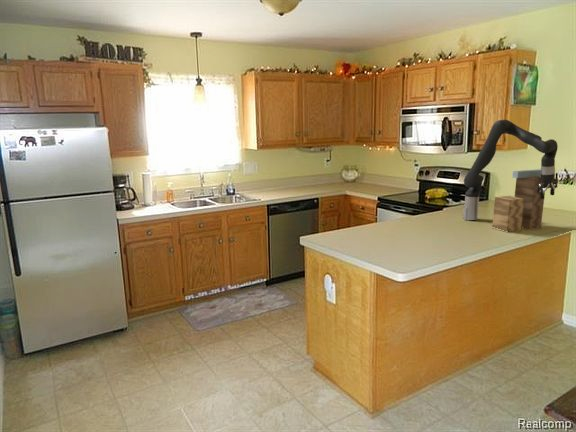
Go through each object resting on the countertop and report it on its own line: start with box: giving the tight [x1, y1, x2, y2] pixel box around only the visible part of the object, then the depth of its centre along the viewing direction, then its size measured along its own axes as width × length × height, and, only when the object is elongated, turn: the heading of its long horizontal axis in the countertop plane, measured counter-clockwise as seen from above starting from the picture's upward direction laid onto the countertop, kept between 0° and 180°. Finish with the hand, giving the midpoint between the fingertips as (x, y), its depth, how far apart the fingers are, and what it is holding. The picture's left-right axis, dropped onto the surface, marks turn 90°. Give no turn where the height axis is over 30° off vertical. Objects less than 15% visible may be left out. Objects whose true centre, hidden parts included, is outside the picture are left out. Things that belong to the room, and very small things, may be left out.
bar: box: [512, 168, 541, 179], centre depth 274 cm, size 22×4×4 cm, turn 109°
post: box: [514, 176, 546, 230], centre depth 279 cm, size 10×14×34 cm
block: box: [491, 195, 524, 232], centre depth 275 cm, size 12×12×21 cm
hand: (547, 196), depth 264 cm, fingers open, 8 cm apart
